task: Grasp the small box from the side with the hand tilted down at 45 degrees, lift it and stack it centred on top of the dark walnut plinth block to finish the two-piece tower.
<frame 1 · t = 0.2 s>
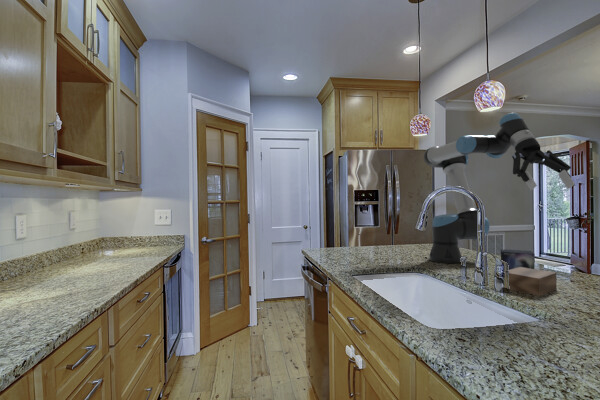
hand: (552, 187, 109), 35 cm above the worktop, tool tilted 35°, fingers open, 13 cm apart
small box: (516, 277, 121), on the worktop
walnut plinth: (528, 289, 106), on the worktop
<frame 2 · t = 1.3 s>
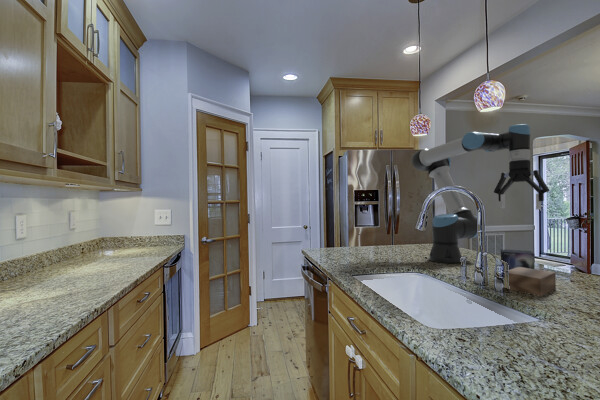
hand: (520, 209, 133), 27 cm above the worktop, tool pointing down, fingers open, 13 cm apart
nothing on the worktop moved.
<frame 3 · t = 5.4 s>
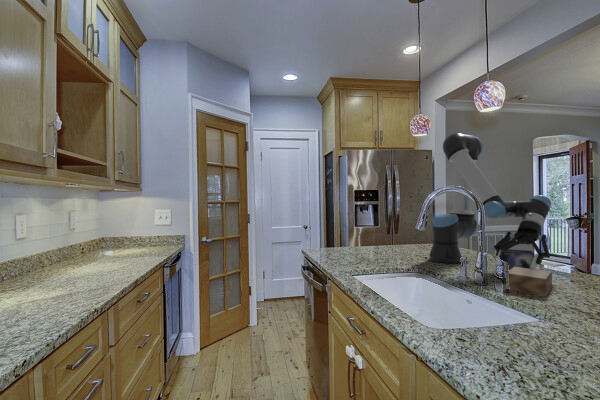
hand: (513, 266, 120), 4 cm above the worktop, tool tilted 45°, fingers closed on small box, 12 cm apart
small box: (516, 277, 121), on the worktop, touching gripper
when the fingers open (12 cm above the worktop, at t = 10.0 s): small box drops 2 cm, resting on walnut plinth.
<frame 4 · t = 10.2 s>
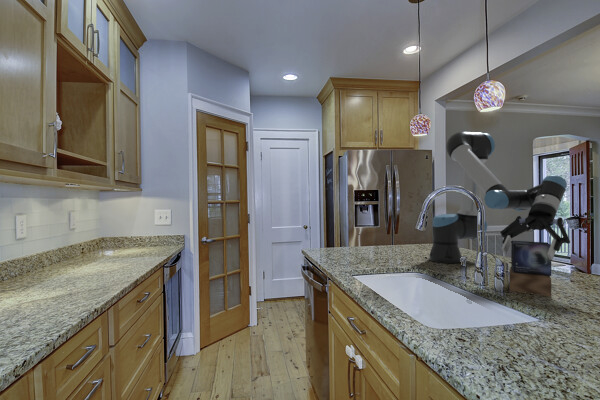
hand: (525, 254, 105), 12 cm above the worktop, tool tilted 45°, fingers open, 13 cm apart
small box: (530, 273, 105), point 5 cm above the worktop, touching gripper, walnut plinth
walnut plinth: (528, 289, 106), on the worktop, touching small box
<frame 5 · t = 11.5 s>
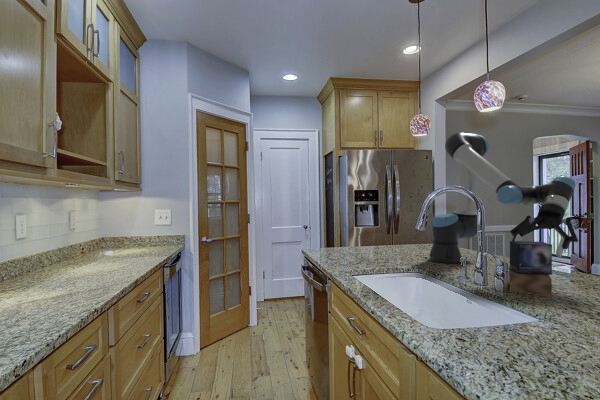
hand: (534, 252, 109), 12 cm above the worktop, tool tilted 45°, fingers open, 13 cm apart
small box: (530, 273, 106), point 5 cm above the worktop, touching walnut plinth
everything else where it was.
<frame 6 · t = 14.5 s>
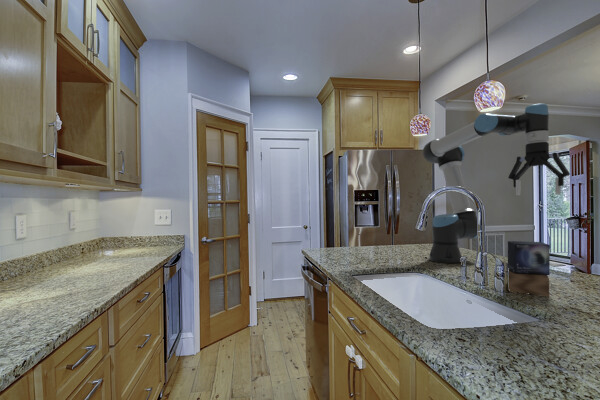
hand: (537, 195, 125), 33 cm above the worktop, tool pointing down, fingers open, 13 cm apart
nothing on the worktop moved.
at the end: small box inside the target area on the walnut plinth (0.6 cm from its centre), point 5.8 cm above the walnut plinth's base; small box tilted 0°; the gripper is holding nothing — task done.
